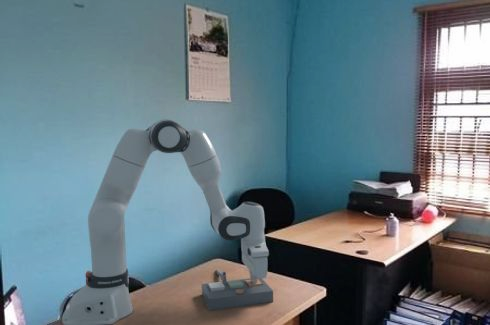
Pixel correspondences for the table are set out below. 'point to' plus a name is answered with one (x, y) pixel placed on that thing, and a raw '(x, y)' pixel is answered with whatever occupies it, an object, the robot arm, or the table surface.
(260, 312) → the table surface
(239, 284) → the sage button
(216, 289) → the white button
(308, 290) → the table surface
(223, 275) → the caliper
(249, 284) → the terracotta button
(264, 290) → the button panel
